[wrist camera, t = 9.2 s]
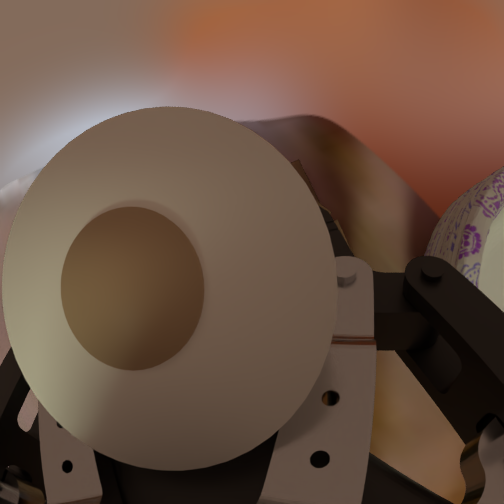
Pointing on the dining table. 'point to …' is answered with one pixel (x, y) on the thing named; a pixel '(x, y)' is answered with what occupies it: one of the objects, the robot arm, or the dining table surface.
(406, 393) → the dining table surface
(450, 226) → the paper bowls
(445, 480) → the dining table surface
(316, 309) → the roll
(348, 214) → the dining table surface
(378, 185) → the dining table surface
